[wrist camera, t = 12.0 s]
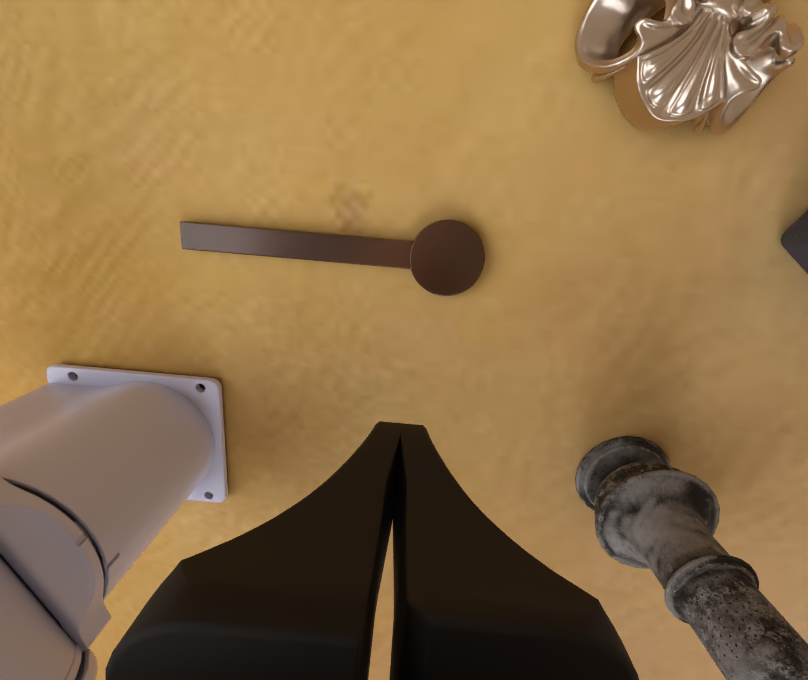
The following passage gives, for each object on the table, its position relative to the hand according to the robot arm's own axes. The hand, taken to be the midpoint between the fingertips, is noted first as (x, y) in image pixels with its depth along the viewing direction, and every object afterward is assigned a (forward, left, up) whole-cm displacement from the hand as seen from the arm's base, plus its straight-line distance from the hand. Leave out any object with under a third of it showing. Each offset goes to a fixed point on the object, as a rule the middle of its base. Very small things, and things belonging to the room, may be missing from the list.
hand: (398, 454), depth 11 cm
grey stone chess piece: (+13, -7, -11) cm, 18 cm away
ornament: (+10, +14, -11) cm, 20 cm away
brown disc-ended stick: (-4, +5, -10) cm, 12 cm away
